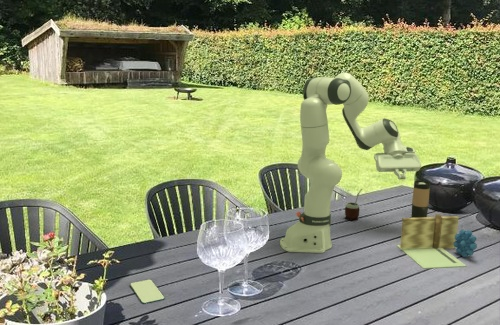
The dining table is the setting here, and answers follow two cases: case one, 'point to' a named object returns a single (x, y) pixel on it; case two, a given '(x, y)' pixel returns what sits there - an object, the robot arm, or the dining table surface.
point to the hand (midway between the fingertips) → (402, 178)
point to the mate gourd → (352, 210)
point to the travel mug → (420, 199)
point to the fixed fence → (445, 231)
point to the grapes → (465, 243)
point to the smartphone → (147, 291)
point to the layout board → (432, 257)
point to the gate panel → (417, 232)
